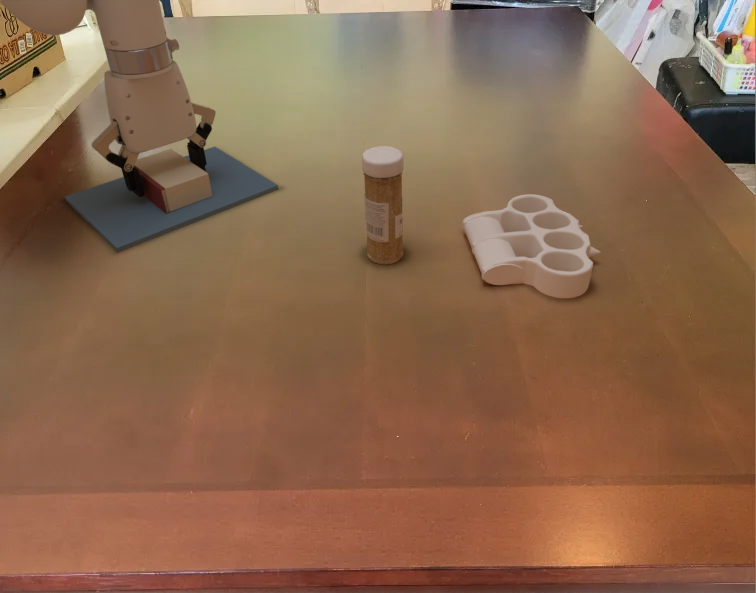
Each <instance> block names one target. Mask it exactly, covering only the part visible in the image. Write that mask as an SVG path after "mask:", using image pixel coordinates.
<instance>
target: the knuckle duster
mask: <svg viewBox="0 0 756 593" xmlns="http://www.w3.org/2000/svg"><path fill="white" fill-rule="evenodd" d="M506 205H507V206H505V207H504V208H502V209H499V210H485V211H482V212H476V213H472V214H471V215H467V217H465V218H463V220H462V223H461V225H462V231H463V232H465V234H466V238H467V241H468V242H469V245H470V248H471V253H472V255H474V258H475V260H476V264H477V265H478V269H479V271H480V274H481V279H482V280H483V281H484V282H486V283H488V284H490V285H494V286H505V285H507V286H508V285H519V284H524V285H528V286H530V287H531V286H532V287H534V288H535V289H536V290H537V291H538V292H540V293H541V294H543V295H545V296H548V297H551V298H556V299H573V298H574V299H575V298H579V297H580V296H583V295H584V294H585V293H587V291H588V289H589V287H590V282H591V277H592V274H593V273H592V272H593V267H594V261H592V259H590V258H592V257H594V256H597V255H599V254H602V251H600V250H598V249H596V248H595V247H593V246H592V245H591V240H590V236H589V234H587V233H585V231H583V230H582V228H583V227H584V225H583V224H580V221H579V220H578V218H575V216H573V215H572V214H571V213H570V212H566V211H563V210H561V209H560V208H558V207H557V206H556V205H555V204H554V200H553V199H551V198H550V197H548V196H544V195H540V194H533V193H531V194H528V193H526V194H521V195H516V196H514V197H513V198H511V199H510V200H509V201H508V203H507V204H506Z"/></svg>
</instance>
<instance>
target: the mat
mask: <svg viewBox="0 0 756 593" xmlns="http://www.w3.org/2000/svg"><path fill="white" fill-rule="evenodd" d="M204 152H205V157H206V162H207V165H205V169H206V173H208V175H209V180H210V186H211V191H212V197H209V198H206V199H204V200H201V201H198V202H196V203H193V204H190V205H187V206H185V207H182V208H179V209H177V210H174V211H171V212H169V213H167V214H166V213H165V212H163V211H162V210H161V209H160V208H159V207H157V206H156V205H155V204H154V203H152V202H151V201H150V200H149V199H147V198H146V197H145V196H142V197H139V196H138V195H136V194H135V193H134V192H133V191H129V190H128V188H127V186H126V183H125V180H124V176H122V177H119V178H115V179H114V180H109V181H107V182H105V183H101V184H98V185H95V186H92V187H89V188H86V189H83V190H80V191H78V192H75V193H71V194H69V195H66V196H64V200H65V202H66V203H67V204H68V205H69V206H70V208H72V209H73V210H74V211H75V212H76V213H77V214H79V216H80V217H81V218H82V219H83V220H84V221H85V222H86V223H87V224H88V225H89V226H90V227H91V228H93V229H94V231H96V232H97V234H98V235H100V236H101V237H102V239H103V240H104V241H106V243H108V244H109V245H110V247H112V248H113V249H114V250H115V251H116V253H120V252H123V251H125V250H128V249H130V248H133V247H136V246H139V245H141V244H143V243H145V242H148V241H151V240H153V239H156V238H159V237H161V236H163V235H166V234H169V233H171V232H174V231H177V230H179V229H181V228H184V227H187V226H189V225H191V224H194V223H197V222H199V221H202V220H204V219H206V218H209V217H212V216H214V215H217V214H219V213H222V212H224V211H227V210H230V209H232V208H235V207H238V206H240V205H242V204H246V203H247V202H250V201H252V200H255V199H258V198H260V197H263V196H265V195H269V194H270V193H273V192H275V191H278V190H279V185H278V184H277V183H275V182H274V181H272V180H271V179H269V178H267V177H265V176H264V175H262V174H260V173H259V172H257V171H256V170H254V169H253V168H251V167H249V166H248V165H246V164H244V163H242V162H241V161H239V160H238V159H236V158H234V157H233V156H231V155H229V154H227V153H226V152H225V151H223V150H222V149H220V148H218V147H216V146H212V147H208V148H205V149H204ZM183 157H184V158H186V159H187V160H189V161H190V158H189V154H188V155H185V156H183Z"/></svg>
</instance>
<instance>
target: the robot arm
mask: <svg viewBox="0 0 756 593" xmlns="http://www.w3.org/2000/svg"><path fill="white" fill-rule="evenodd" d="M0 4H1V5H2V6H3V8H5V10H7V11H8V12H9V13H10V14H11V15H12V16H14V17H15V18H16V19H17V20H18V21H19V22H20V23H22V24H23V25H25V26H26V27H28V28H30V29H31V30H33V31H34V32H35V31H36V32H38V33H41V34H43V35H48V36H60V35H65V34H69V33H70V32H72V31H74V30H75V29H76V28H78V26H80V24H81V23H82V21H83V20H84V17H85V15H86V11H88V10H90V11H92V13H94V16H95V18H96V22H97V27H98V30H99V33H100V37H101V41H102V45H103V48H104V51H105V56H106V59H107V64H108V67H109V70H107V71H105V72H104V73H103V75H104V76H103V77H104V78H103V79H104V91H105V98H106V105H107V110H108V111H107V112H108V115H109V122H110V124H109V125H108V126H107V127H106V128H105V129H104V130H103V131H102V132H101V133H100V134H99V135H98V136H97V137H96V138H95V139H94V140H93V141H92V142H91V147H92V149H93V150H95V151H96V152H97V153H98V154H99V155H100V156H101V157H103V158H104V160H106V161H107V162H108V163H110V164H112V165H114V166H116V167H118V168H120V170H121V172H122V175H123V176H122V177H124V180H125V183H126V186H127V188H128V190H129V191H133V192H134V193H135V194H136V195H138V196H139V197H142V196H144V195H145V193H144V189H143V186H142V182H141V178H140V174H139V171H138V170H137V169H136V168H135V167H134V165H135V162H136V160H137V159H139V158H138V157H139V156H140V154H142V153H146V152H150V151H152V150H156V149H159V148H162V147H165V146H168V145H171V144H175V143H177V142H181V141H184V140H186V139H188V141H189V142H187V143H186V144H187V145H186V149H187V152H188V155H189V158H190V162H192V163H193V164H195V165H196V166H198V167H199V168H201V169H202V170H203V171H205V172H206V169H205V165H207V162H206V157H205V152H204V150H205V147H206V145H207V140H208V137H209V136H210V134H211V133H212V131H213V127H212V126H213V124H214V121H215V117H216V110H215V109H213V108H211V107H209V106H206V105H203V104H198V103H195V102H192V99H191V97H190V92H189V89H188V87H187V85H186V82H185V79H184V76H183V74H182V72H181V68H180V67H179V65H178V63H177V61H176V60H174V57H173V53H174V52H175V51H179V50H180V45H179V44H180V43H179V42H178V40H177V39H176V38H173V39H170V38H169V37H168V35H167V31H166V27H165V22H164V18H163V17H164V16H163V12H162V7H161V3H160V0H0ZM196 115H197V116H201V118H200V121H199V123H198V125H197V119H196ZM114 141H115V142H116V143H117V144H118V145H121V146H120V148H119V151H118V153H115V152H114V151H112V150H111V149H110V146H111V144H112V143H113V142H114Z"/></svg>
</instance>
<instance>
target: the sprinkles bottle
mask: <svg viewBox="0 0 756 593" xmlns="http://www.w3.org/2000/svg"><path fill="white" fill-rule="evenodd" d="M404 162H405V161H404V154H403V152H402V151H401V150H400V149H398V148H396V147H393V146H389V145H388V146H387V145H380V146H374V147H370V148H368V149H366V150H364V151H363V153H362V155H361V168H362V172H363V176H364V177H363V179H364V215H365V217H364V218H365V233H366V245H367V249H366V257H367V259H368V260H369V261H370V262H372V263H374V264H378V265H383V266H384V265H386V266H387V265H392V264H395V263H397V262H399V261H400V260H401V259H402V258H403V257H404V249H403V233H404V225H403V224H404V223H403V222H404V220H403V218H404V217H403V195H402V194H403V191H402V190H403V189H402V188H403V182H402V181H403V177H402V175H403V171H404Z"/></svg>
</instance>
